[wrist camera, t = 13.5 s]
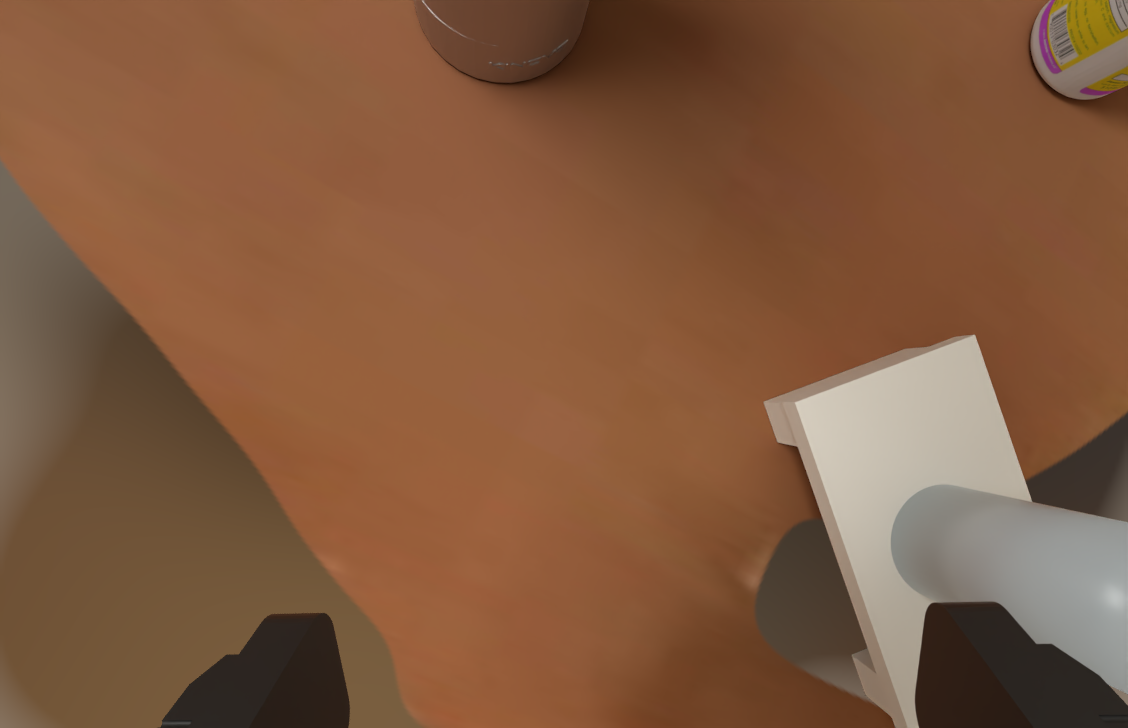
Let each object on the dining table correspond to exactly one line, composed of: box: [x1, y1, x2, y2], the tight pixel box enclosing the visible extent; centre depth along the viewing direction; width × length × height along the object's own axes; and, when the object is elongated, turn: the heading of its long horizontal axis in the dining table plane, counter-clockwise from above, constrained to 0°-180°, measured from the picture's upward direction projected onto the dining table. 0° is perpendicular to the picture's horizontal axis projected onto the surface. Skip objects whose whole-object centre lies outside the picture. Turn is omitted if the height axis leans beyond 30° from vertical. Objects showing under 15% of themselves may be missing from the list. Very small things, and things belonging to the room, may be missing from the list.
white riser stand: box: [764, 335, 1032, 728], centre depth 35 cm, size 18×10×5 cm, turn 19°
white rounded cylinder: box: [891, 485, 1128, 694], centre depth 27 cm, size 6×6×11 cm
